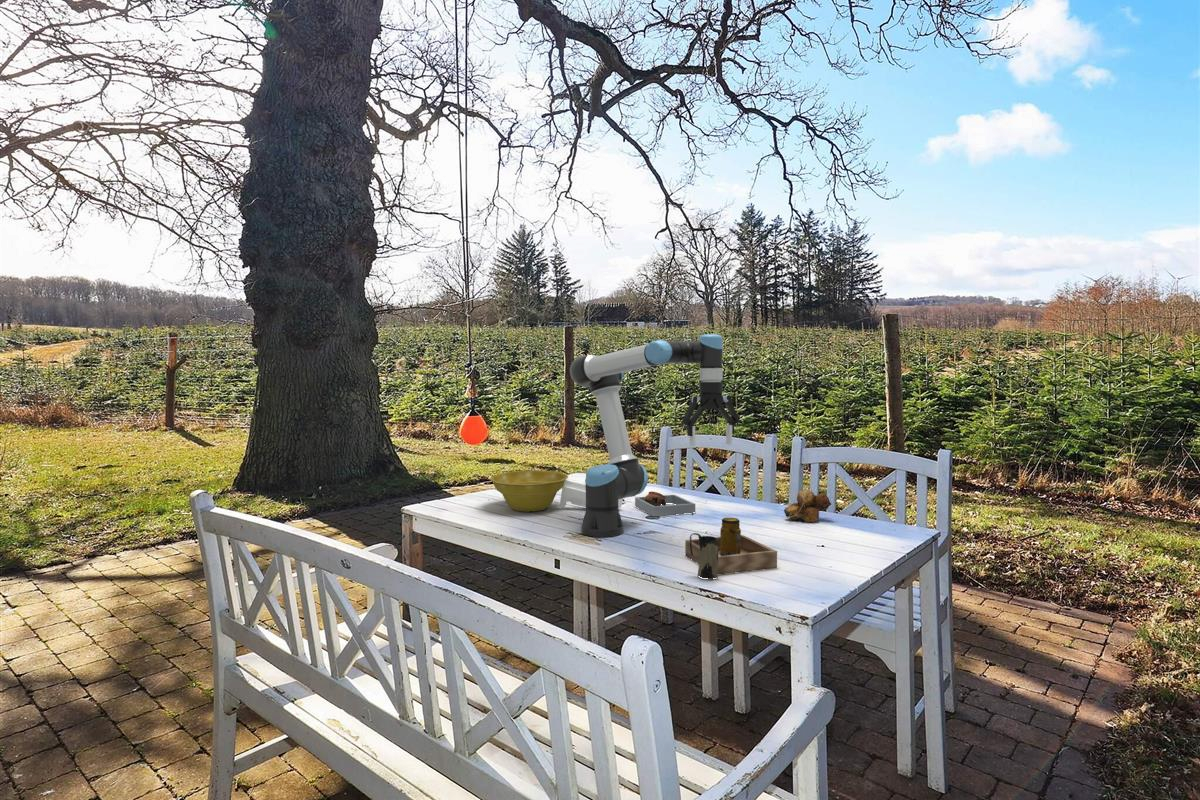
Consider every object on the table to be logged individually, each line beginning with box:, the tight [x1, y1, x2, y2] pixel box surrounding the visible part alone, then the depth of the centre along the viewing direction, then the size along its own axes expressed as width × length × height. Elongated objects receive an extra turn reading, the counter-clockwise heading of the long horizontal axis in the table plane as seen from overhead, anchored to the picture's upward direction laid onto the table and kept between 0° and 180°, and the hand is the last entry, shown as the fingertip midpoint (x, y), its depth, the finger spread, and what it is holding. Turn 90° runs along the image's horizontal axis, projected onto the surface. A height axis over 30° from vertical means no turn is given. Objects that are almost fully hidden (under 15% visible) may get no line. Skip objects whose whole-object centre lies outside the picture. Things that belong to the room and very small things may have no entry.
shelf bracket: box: [558, 479, 624, 510], centre depth 277 cm, size 6×25×13 cm, turn 82°
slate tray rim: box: [634, 494, 696, 517], centre depth 275 cm, size 18×20×4 cm
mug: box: [689, 532, 719, 579], centre depth 190 cm, size 8×6×12 cm
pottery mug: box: [644, 491, 667, 506], centre depth 277 cm, size 12×10×8 cm
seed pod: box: [783, 489, 832, 523], centre depth 255 cm, size 13×16×15 cm
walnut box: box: [684, 534, 778, 575], centre depth 204 cm, size 20×20×5 cm
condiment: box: [719, 517, 742, 556], centre depth 203 cm, size 7×8×12 cm
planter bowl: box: [489, 469, 569, 513], centre depth 280 cm, size 32×32×13 cm
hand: (710, 445), depth 224 cm, fingers open, 13 cm apart
